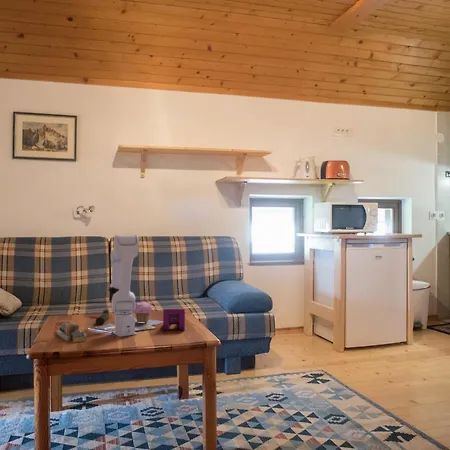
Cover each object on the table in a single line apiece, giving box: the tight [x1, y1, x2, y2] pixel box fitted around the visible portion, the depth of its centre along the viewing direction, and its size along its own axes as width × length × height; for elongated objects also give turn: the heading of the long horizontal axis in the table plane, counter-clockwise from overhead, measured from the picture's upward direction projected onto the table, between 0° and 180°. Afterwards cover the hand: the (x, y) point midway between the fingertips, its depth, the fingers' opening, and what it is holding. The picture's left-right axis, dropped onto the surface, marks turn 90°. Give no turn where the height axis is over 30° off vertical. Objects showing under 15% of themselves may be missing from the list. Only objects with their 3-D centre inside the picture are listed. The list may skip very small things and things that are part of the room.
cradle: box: [56, 330, 88, 342], centre depth 194 cm, size 14×8×2 cm, turn 35°
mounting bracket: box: [162, 308, 186, 331], centre depth 211 cm, size 10×8×18 cm
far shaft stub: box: [57, 321, 67, 333], centre depth 201 cm, size 6×5×4 cm
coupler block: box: [63, 322, 80, 340], centre depth 194 cm, size 4×8×5 cm, turn 34°
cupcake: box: [133, 301, 153, 323], centre depth 220 cm, size 9×9×10 cm
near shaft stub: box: [71, 329, 87, 344], centre depth 187 cm, size 6×5×4 cm
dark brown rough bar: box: [95, 308, 110, 326], centre depth 225 cm, size 19×4×5 cm, turn 1°
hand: (118, 304), depth 214 cm, fingers open, 7 cm apart
